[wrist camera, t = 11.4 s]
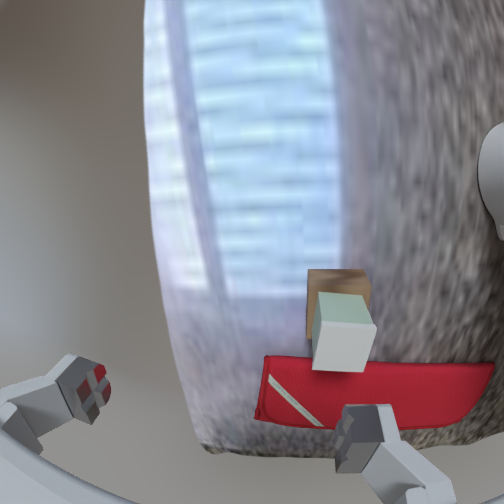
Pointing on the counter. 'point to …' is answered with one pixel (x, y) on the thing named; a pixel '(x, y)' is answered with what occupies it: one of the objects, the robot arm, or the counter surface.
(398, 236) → the counter surface
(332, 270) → the walnut block
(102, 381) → the robot arm
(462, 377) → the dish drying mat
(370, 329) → the sage tin
